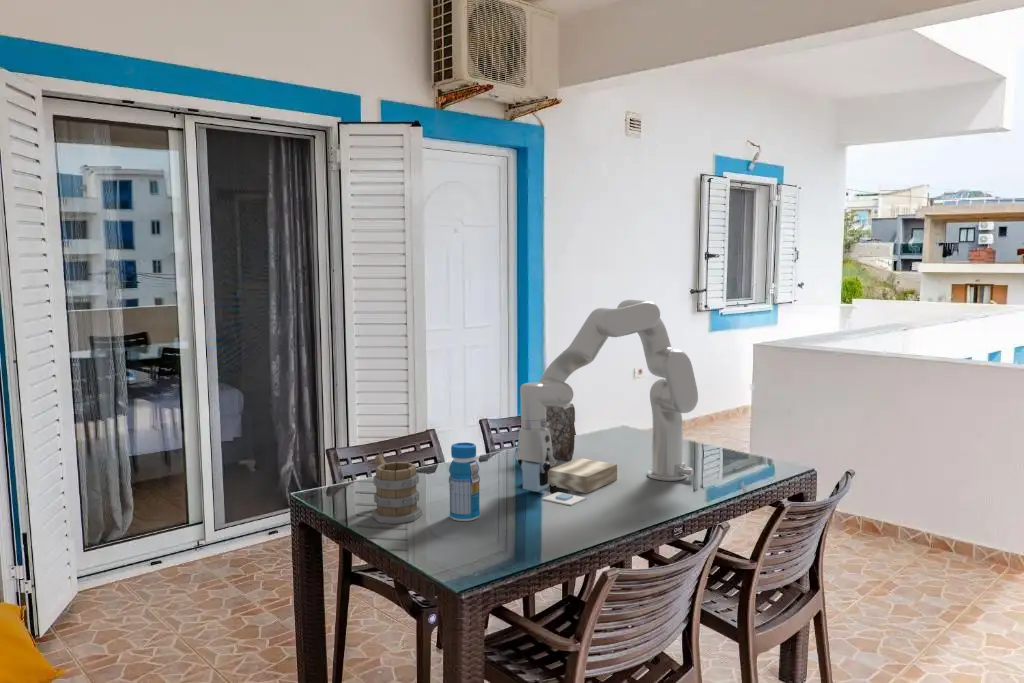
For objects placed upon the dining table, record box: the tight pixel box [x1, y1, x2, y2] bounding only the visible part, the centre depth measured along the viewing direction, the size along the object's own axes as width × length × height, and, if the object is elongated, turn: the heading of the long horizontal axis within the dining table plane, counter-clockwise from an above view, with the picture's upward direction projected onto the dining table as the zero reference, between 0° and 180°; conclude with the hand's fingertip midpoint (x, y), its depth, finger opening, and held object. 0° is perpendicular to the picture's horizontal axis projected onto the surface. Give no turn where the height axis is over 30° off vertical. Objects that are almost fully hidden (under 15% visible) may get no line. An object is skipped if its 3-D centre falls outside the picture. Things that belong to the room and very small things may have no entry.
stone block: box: [546, 402, 576, 462], centre depth 268 cm, size 13×7×20 cm, turn 49°
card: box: [541, 491, 587, 507], centre depth 219 cm, size 10×8×1 cm
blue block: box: [521, 461, 549, 492], centre depth 225 cm, size 6×6×8 cm
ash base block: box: [548, 457, 618, 494], centre depth 236 cm, size 14×18×5 cm
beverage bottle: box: [448, 442, 481, 522], centre depth 203 cm, size 8×8×20 cm
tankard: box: [371, 453, 423, 525], centre depth 208 cm, size 20×13×15 cm, turn 30°
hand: (535, 482), depth 225 cm, fingers closed on blue block, 5 cm apart
